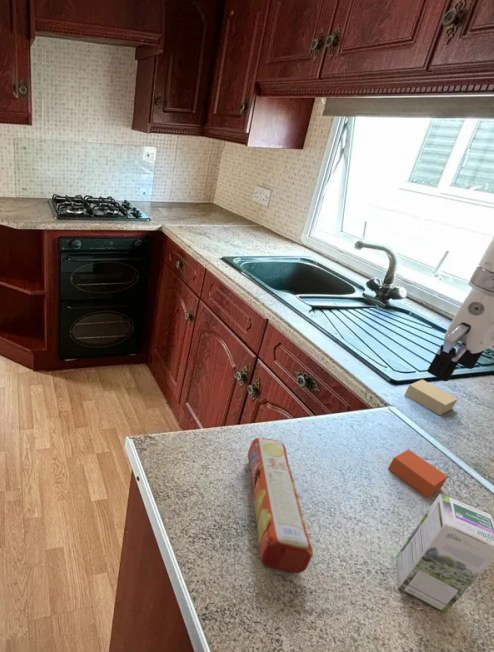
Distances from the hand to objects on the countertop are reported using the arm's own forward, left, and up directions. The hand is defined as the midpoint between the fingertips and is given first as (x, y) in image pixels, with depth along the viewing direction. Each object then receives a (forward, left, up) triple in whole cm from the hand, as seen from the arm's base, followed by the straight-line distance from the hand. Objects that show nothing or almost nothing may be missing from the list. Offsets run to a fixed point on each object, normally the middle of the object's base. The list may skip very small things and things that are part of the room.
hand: (449, 370), depth 72 cm
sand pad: (+7, -24, -20) cm, 32 cm away
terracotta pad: (-5, +5, -20) cm, 21 cm away
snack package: (+2, +36, -20) cm, 42 cm away
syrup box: (-16, +25, -20) cm, 36 cm away
